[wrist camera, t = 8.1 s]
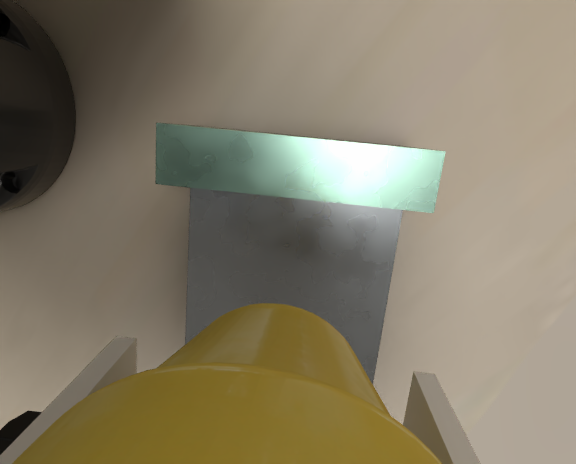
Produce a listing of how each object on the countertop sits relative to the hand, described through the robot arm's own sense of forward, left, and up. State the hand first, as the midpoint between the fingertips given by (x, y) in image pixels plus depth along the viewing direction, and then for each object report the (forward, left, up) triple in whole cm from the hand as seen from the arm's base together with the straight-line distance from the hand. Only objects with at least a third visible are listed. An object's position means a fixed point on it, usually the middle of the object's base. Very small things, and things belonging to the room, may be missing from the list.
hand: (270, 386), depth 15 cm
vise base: (0, -3, -14) cm, 14 cm away
